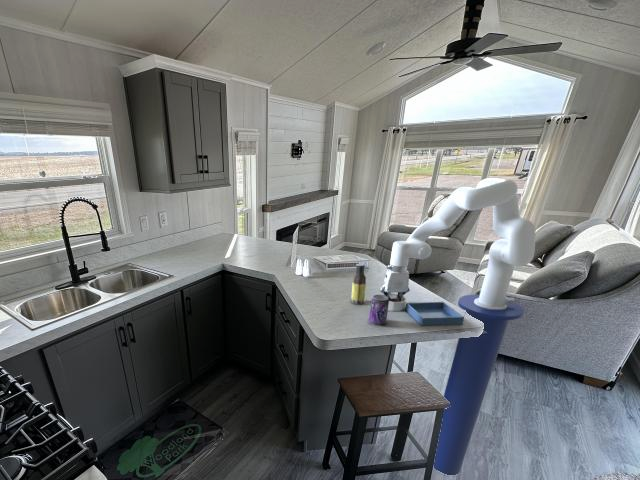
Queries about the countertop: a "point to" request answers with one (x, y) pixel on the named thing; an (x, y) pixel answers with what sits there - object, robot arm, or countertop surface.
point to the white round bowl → (397, 304)
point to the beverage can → (379, 309)
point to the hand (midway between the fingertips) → (392, 303)
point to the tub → (434, 313)
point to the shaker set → (304, 269)
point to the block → (394, 298)
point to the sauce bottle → (358, 285)
